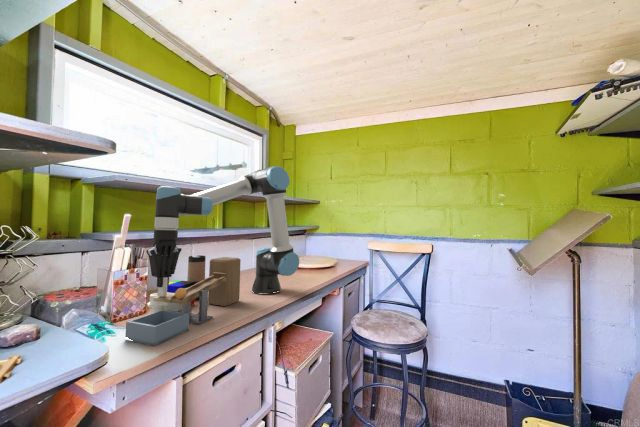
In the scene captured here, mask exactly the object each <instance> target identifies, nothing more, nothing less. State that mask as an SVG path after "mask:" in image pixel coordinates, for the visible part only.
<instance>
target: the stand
mask: <svg viewBox="0 0 640 427" xmlns="http://www.w3.org/2000/svg"><path fill="white" fill-rule="evenodd" d="M188 288H189V287H188ZM184 289H187V288H184ZM208 294H209V291H208V289H204V290H201V291H200V297H199V300H198V303H199V304H198V313H193V312H191V309H192V308H191V307H192V306H191V301H190V302H189V303H187V304H182V310H181V312H182V313H188V314H189V324H192V325H197V326H199V325H200V326H201V325H202V324H204V323H206V322H208V321H211V320H212V319H214V316H212V315H208V309H209V308H208V307H209V306H208V305H209V303H208Z"/></svg>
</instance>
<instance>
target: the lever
mask: <svg viewBox="0 0 640 427" xmlns="http://www.w3.org/2000/svg"><path fill="white" fill-rule="evenodd" d="M225 281H226V273H217V272H213V275H212V276H210V277H209V276H208V277H207V278H206V277H205V279H204V280H202V281H200V282H198V283H196V284H195V285H193V286H191V287H189V288H187V289H185V290H186V292H187V294H186V296H185V297H184V298H182V299H178V298H176V296H175V293H169V292H167V296H164V297H162V296H156V297H154V298H153V299H154V301H157V302H164V303H178V304H187V303H189V302H190V301H192V300H194V299H195V298H197V297H199V296H200V291H201V290H204V289H208V292H209V290H211V289H213V288H215V287H216V286H218V285H220V284H221V283H223V282H225Z"/></svg>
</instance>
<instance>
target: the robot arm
mask: <svg viewBox="0 0 640 427" xmlns="http://www.w3.org/2000/svg"><path fill="white" fill-rule="evenodd" d="M290 181H291V180H290V176H289V173H288V171H286V170H285V169H284V168H283V167H281V166H275V165H274V166H269V167H267V168H266V167H265V168H262V169H258V170H255V171H253V172H251V173H249V174H246V175H243V176H241V177H239V179H237V180H234V181H230V182H229V183H225V184H222V185H219V186H218V185H217V186H215V187H212V188H209V189H206V190H202V191H199V192H196V193H192V194H184V193H182V192H181V189H180V188H179V187H175V186H165V185H163V186H159V187H158V188H157V190H156V194H155V195H156V196H155V212H154V214H155V215H154V228H153V229H155V230H154V231H153V241H154V243H153V245H152V246H153V247H151V248H150V249H146V252H145V253H146V254H147V256H148V260H149V267H150V272H151V273H150V274H151V276H152V277H154V278H156V288H157V293H158V295H157V296H162V297H164V296H167V286H168V285H169V282H170V278H172V276H173V275H174V274H175V272H176V268H177V264H178V260H179V256H180V254H181V252H182V248H181V247H179V246H178V245H177V243H176V242H177V240H178V236H179V232H178V230H177V229H179V219H180V216H181V217H183V216H202V217H203V216H210V215H211V213H212V211H213V208H214V206H215V205H218V204H221V203H223V202H227V201H229V200H232V199H235V198H238V197H241V196H244V195H246V196H249V195H252V194H257V193H261V194H262V196H263V197H264V198H265V199H266V206H267V214H268V221H269V222H268V223H269V228H270V236H271V244H272V246H271V247H266V248H259V249H257V250H256V254H255V278H254V281H253V283H252V287H251V292H252V291H253V292H254V293H253V292H252V293H253V294H255V293H273V292H277V291H280V290H281V288H282V287H281V282H280V279H279V277H278V275H280V276H282V277H285V276H287V277H290V276H292V275H293V274H295V273H296V272H297V270H298V269H299V266H300V257H299V255H298V254H297V253H296V252H294V246H293V245H292V244H290V236H289V229H288V228H289V227H288V222H287V221H288V220H287V214H286V212H287V211H286V204H285V196H286V194H287V189H288V187H289V185H290ZM281 291H282V290H281ZM281 291H280V292H281Z"/></svg>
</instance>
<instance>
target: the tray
mask: <svg viewBox="0 0 640 427" xmlns="http://www.w3.org/2000/svg"><path fill="white" fill-rule="evenodd" d="M125 322H126V323H125V337H128V338H129V339H131V340H133V341H134V342H133V343H135V344H141V345H146V346H149V347H156V346H159V345H160V344H162V343H165V342H166V341H167V342H168V340H170V339H173V338H176V337H177V336H180V335H182V334H184V333H187V332H188V331H189V330H190V328H189V327H190V326H189V325H190V323H189V314H188V313H182V311H171V310H160V311H157V312H154V313H152V312H151V313H149V314H145V315H141V316H140V317H136V318H133V319H130V320H127V321H125Z"/></svg>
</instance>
